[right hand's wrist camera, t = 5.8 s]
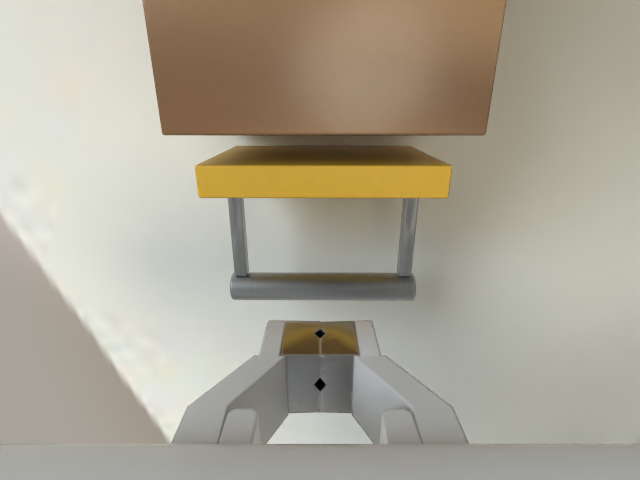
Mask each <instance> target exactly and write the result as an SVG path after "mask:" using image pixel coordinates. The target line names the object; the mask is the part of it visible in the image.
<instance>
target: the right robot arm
mask: <svg viewBox="0 0 640 480" xmlns="http://www.w3.org/2000/svg"><path fill="white" fill-rule="evenodd" d="M308 412H331V413H352V415H353V417H354V418H355V419H356V421H357V422H358V423H359V425H360V426H361V427H362V429H363V430H364V431H365V433H366V434H367V435H368V437H369V438H370V439H371V441H372V442H373V443H374V444H267V442H268V441H269V440H270V438H271V437H272V436H273V434H274V433H275V432H276V430H277V429H278V428H279V426H280V425H281V424H282V422H283V421H284V420H285V418H286V417H287V416H288V413H308ZM0 480H640V444H469V443H468V440H467V438H466V436H465V434H464V431H463V429H462V427H461V424H460V422H459V420H458V418H457V415H456V413H455V411H454V409H453V407H452V406H451V405H449V404H448V403H447V402H445V401H444V400H443V399H442V398H440V397H439V396H438V395H436V394H435V393H434V392H432V391H431V390H430V389H429V388H427V387H426V386H425V385H423V384H422V383H421V382H419V381H418V380H417V379H416V378H414V377H413V376H412V375H410V374H409V373H408V372H407V371H405V370H404V369H403V368H401V367H400V366H399V365H397V364H396V363H395V362H394V361H392V360H391V359H390V358H388V357H387V356H381V353H380V349H379V345H378V341H377V337H376V333H375V329H374V325H373V322H372V321H371V320H366V321H337V322H320V321H285V320H284V321H268V322H267V325H266V329H265V333H264V337H263V341H262V345H261V349H260V353H259V356H253V357H252V358H250V359H249V360H248V361H246V362H245V363H244V364H243V365H241V366H240V367H239V368H237V369H236V370H235V371H233V372H232V373H231V374H230V375H228V376H227V377H226V378H224V379H223V380H222V381H220V382H219V383H218V384H216V385H215V386H214V387H213V388H211V389H210V390H209V391H207V392H206V393H205V394H203V395H202V396H201V397H200V398H198V399H197V400H196V401H194V402H193V403H192V404H190V405H189V406H188V407H187V409H186V411H185V413H184V416H183V418H182V420H181V422H180V425H179V427H178V429H177V431H176V434H175V436H174V438H173V440H172V443H171V444H0Z"/></svg>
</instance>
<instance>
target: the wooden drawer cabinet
mask: <svg viewBox="0 0 640 480" xmlns="http://www.w3.org/2000/svg"><path fill="white" fill-rule="evenodd" d="M505 6H506V0H143V7H144V13H145V20H146V27H147V34H148V40H149V47H150V54H151V61H152V67H153V74H154V81H155V88H156V94H157V101H158V108H159V115H160V121H161V128H162V133H163V135H485V134H486V129H487V122H488V116H489V109H490V103H491V96H492V90H493V84H494V77H495V71H496V64H497V58H498V51H499V45H500V39H501V32H502V26H503V19H504V13H505Z"/></svg>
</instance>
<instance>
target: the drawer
mask: <svg viewBox="0 0 640 480" xmlns="http://www.w3.org/2000/svg"><path fill="white" fill-rule="evenodd" d="M195 170H196V178H197V186H198V195H199V197H200V198H228V204H229V215H230V226H231V237H232V248H233V259H234V270H235V273H233V275H232V277H231V283H230V292H231V297H232V299H234V300H413V299H414V297H415V293H416V283H415V278H414V275H413V274H412V273H411V271H412V261H413V251H414V241H415V230H416V220H417V210H418V200H419V198H448V196H449V188H450V180H451V172H452V166H451V165H449V164H447V163H445V162H442V161H440V160H438V159H436V158H434V157H432V156H430V155H428V154H425V153H423V152H421V151H419V150H417V149H415V148H413V147H411V146H236V147H234V148H232V149H229V150H227V151H225V152H223V153H221V154H219V155H217V156H215V157H213V158H211V159H208V160H206V161H204V162H202V163H200V164H198V165H196V166H195ZM243 198H403V205H402V217H401V229H400V241H399V253H398V265H397V272H398V273H248V272H249V264H248V251H247V238H246V225H245V212H244V199H243Z"/></svg>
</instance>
